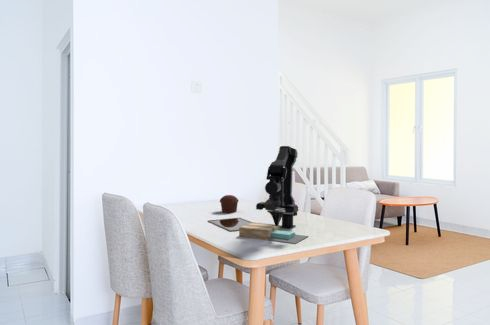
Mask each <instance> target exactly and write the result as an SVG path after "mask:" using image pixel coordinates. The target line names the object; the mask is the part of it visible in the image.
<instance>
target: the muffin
mask: <svg viewBox="0 0 490 325" xmlns="http://www.w3.org/2000/svg"><path fill="white" fill-rule="evenodd" d="M219 203H220V206H221V212H222V213H224V212H225V213H224V214H233V213H237V210H238V203H239V199H238V198H237V197H236V196H235V195H231V194H226V195H223V196H222V197H221V198H220V199H219Z"/></svg>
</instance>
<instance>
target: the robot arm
mask: <svg viewBox="0 0 490 325" xmlns="http://www.w3.org/2000/svg"><path fill="white" fill-rule="evenodd" d="M297 158H298V150H297V149H296V148H293V147H291V146H289V145H281V146H279V150H278V154H277V156H276V158H275V160H273V161H272V162H271V163H270V164H269V166H268V168H267V172H266V179H265V180H269V181H268V182H267V183H266V184H265V186H264V190H265V192H266V193H267V194H268V195H269V196H268V199H267V200H265V201H261V202H260V201H259V202H257V203H256V205H255V210H260V211H263V209H265V210H266V212H267V213H269V214H270V215H271V218H272V220H273V223H274V225H275V226H278V225H280V228H282V229H284V228H285V229H292V228H294V227H295V228H296V226H297V225H295V224H294V217H296V216H298V212H299V206H298V204H296V203H295V202H296V201H295V199H294V197H293V194H292V192H293V172H294V171H293V169H294V168H293V167H294V165H295V164H296V162H297ZM280 222H281V224H280Z"/></svg>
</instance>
